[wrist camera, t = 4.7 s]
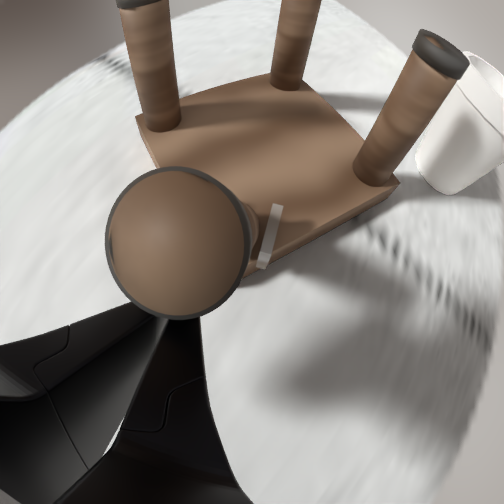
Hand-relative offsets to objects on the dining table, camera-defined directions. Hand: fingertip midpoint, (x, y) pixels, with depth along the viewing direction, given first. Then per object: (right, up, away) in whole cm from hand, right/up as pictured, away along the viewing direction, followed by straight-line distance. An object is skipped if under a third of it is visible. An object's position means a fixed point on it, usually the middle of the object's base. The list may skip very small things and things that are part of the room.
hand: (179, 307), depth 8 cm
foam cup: (+22, +10, +17) cm, 30 cm away
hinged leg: (+1, +3, +8) cm, 9 cm away
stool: (+3, +9, +15) cm, 18 cm away
